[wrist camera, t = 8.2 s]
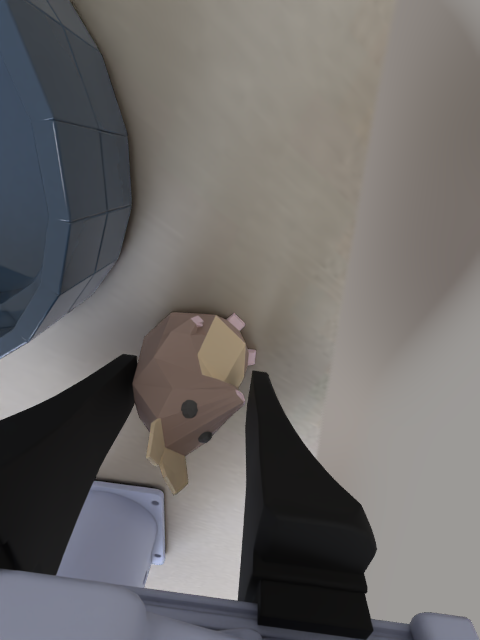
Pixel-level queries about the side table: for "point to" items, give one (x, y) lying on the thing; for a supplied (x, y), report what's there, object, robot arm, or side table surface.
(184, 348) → the mouse figurine
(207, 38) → the side table surface
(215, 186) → the side table surface
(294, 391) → the side table surface
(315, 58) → the side table surface
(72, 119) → the bowl
